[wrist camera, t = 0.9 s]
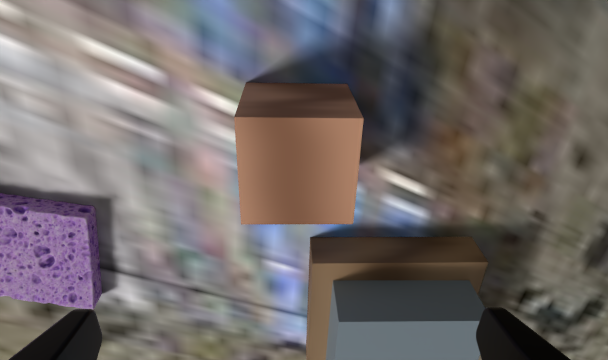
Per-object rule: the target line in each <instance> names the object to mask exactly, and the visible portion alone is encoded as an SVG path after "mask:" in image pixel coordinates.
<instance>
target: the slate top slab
mask: <svg viewBox="0 0 608 360" xmlns="http://www.w3.org/2000/svg"><path fill="white" fill-rule="evenodd" d="M484 309H485V307H484V305H483V304H482V302H481V300H480V298H479V297H478V295H477V293H476V291H475V290H474V288H473V286H472V284H471V283H470V281H469V280H345V281H333V283H332V294H331V305H330V317H329V328H328V339H327V350H326V360H478V358H479V356H480V351H479V348H478V345H477V341H476V330H477V327H478V324H479V321H480V318H481V316H482V313H483V310H484Z"/></svg>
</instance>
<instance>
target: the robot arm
mask: <svg viewBox="0 0 608 360" xmlns="http://www.w3.org/2000/svg"><path fill="white" fill-rule="evenodd" d="M476 341H477V345H478V348H479V351H480V355H481V358H482V360H570V359H569V358H568V357H567V356H565V355H564V354H563V353H561V352H560V351H559V350H558V349H556V348H555V347H554V346H552V345H551V344H550V343H548V342H547V341H546V340H545V339H543V338H542V337H541V336H539V335H538V334H537V333H536V332H534V331H533V330H532V329H530V328H529V327H528V326H527V325H525V324H524V323H523V322H521V321H520V320H519V319H517V318H516V317H515V316H514V315H512V314H511V313H510V312H508V311H507V310H506V309H504V308H500V307H488V308H485V309H484V310H483V313H482V316H481V318H480V321H479V324H478V327H477V330H476ZM101 343H102V332H101V329H100V326H99V323H98V319H97V316H96V313H95V311H94V310H92V309H75V310H73V311H71V312H69V313H68V314H67V315H66V316H64V317H63V318H62V319H60V320H59V321H58V322H57V323H55V324H54V325H53V326H51V327H50V328H49V329H47V330H46V331H45V332H44V333H42V334H41V335H40V336H38V337H37V338H36V339H35V340H33V341H32V342H31V343H29V344H28V345H27V346H26V347H24V348H23V349H22V350H20V351H19V352H18V353H17V354H15V355H14V356H13V357H11V358H10V359H9V360H97V357H98V353H99V350H100V347H101Z"/></svg>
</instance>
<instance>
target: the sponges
mask: <svg viewBox="0 0 608 360" xmlns="http://www.w3.org/2000/svg"><path fill="white" fill-rule="evenodd" d="M101 294H102V287H101V272H100V260H99V247H98V235H97V220H96V211H95V208H94V207H93V206H91V205H80V204H73V203H67V202H56V201H53V200H47V199H35V198H28V197H24V196H17V195H6V194H3V193H0V296H10V297H11V298H12V299H18V300H25V301H30V302H31V301H35V302H40V303H53V304H58V305H60V306H67V307H77V308H83V309H84V308H86V309H94V308H95V306H96V303H97V302H98V300H99V298H100V296H101Z"/></svg>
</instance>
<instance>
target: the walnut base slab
mask: <svg viewBox="0 0 608 360" xmlns="http://www.w3.org/2000/svg"><path fill="white" fill-rule="evenodd" d="M487 265H488V261H487V260H486V258H485V257H484V255H483V254H482V252H481V251H480V249H479V247H478V246H477V244H476V243H475V241H474V240H473V238H472V237H310V259H309V286H308V313H307V340H306V353H307V360H326V350H327V339H328V328H329V317H330V305H331V294H332V283H333V281H345V280H469V281H470V283H471V284H472V286H473V288H474V290H475V291H476V293H477V295H478V293H479V290H480V287H481V284H482V281H483V277H484V274H485V271H486V268H487Z"/></svg>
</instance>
